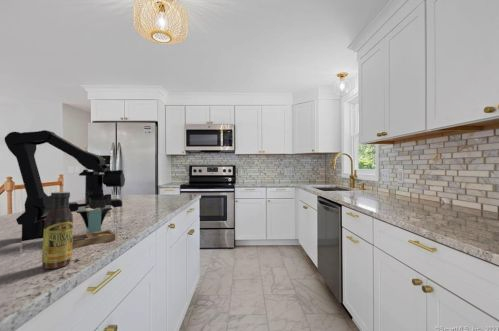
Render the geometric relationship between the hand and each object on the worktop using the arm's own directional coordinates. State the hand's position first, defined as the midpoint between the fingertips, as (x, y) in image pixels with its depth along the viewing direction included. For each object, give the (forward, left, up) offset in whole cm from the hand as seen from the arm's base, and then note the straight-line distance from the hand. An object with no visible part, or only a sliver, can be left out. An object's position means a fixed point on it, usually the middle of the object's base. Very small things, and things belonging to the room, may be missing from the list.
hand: (93, 227), depth 90 cm
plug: (0, 0, -3) cm, 3 cm away
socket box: (-3, -10, -3) cm, 11 cm away
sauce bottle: (-13, -26, -3) cm, 29 cm away
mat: (0, 0, -3) cm, 3 cm away
